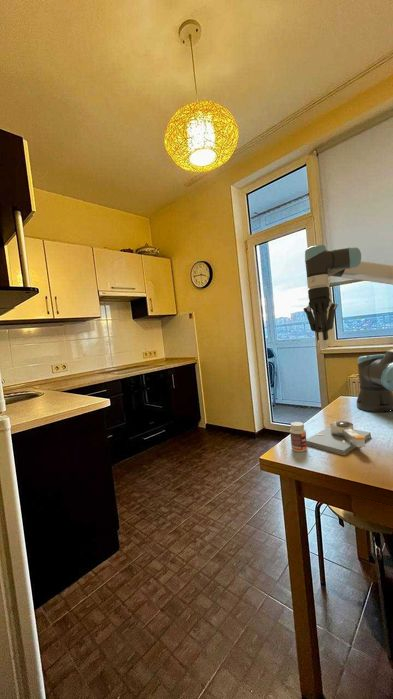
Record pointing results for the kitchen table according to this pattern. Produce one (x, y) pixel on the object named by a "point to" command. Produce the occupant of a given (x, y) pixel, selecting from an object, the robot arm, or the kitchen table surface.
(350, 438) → the silver ladle
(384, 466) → the kitchen table surface
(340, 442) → the stand board
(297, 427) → the pill bottle
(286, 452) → the kitchen table surface
